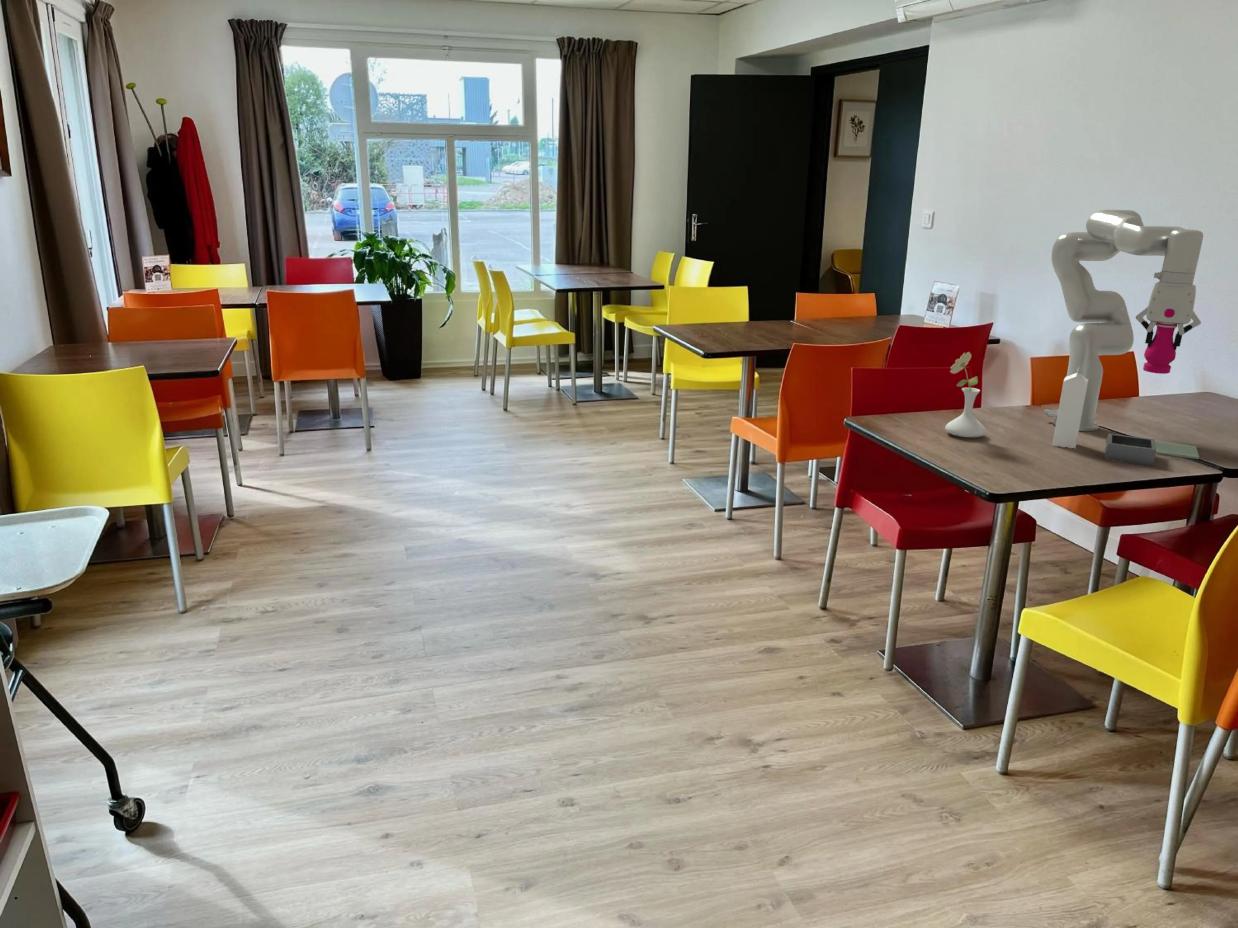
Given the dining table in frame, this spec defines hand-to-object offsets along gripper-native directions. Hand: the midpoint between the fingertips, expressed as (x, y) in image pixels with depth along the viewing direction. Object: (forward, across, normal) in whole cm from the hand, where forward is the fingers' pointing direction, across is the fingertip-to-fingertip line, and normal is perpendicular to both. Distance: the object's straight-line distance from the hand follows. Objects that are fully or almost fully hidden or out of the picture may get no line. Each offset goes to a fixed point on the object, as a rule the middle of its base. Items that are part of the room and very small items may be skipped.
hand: (1161, 347), depth 235 cm
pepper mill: (+7, 0, 0) cm, 7 cm away
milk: (+30, -18, -1) cm, 36 cm away
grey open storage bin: (+30, -2, -5) cm, 30 cm away
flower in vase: (+31, -45, -7) cm, 55 cm away
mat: (+30, +7, +10) cm, 32 cm away
